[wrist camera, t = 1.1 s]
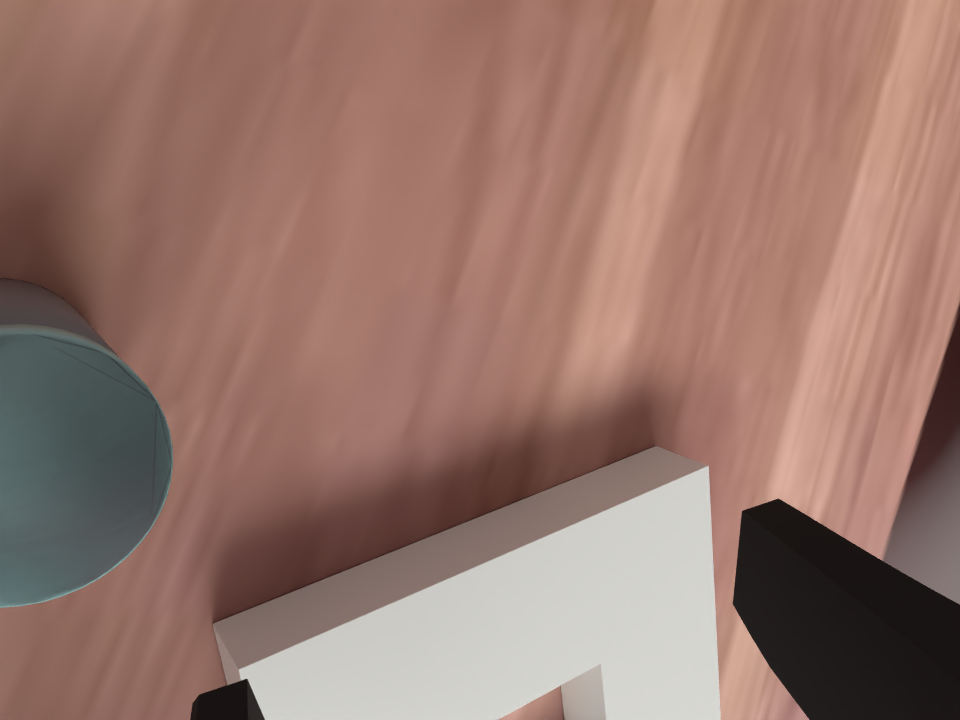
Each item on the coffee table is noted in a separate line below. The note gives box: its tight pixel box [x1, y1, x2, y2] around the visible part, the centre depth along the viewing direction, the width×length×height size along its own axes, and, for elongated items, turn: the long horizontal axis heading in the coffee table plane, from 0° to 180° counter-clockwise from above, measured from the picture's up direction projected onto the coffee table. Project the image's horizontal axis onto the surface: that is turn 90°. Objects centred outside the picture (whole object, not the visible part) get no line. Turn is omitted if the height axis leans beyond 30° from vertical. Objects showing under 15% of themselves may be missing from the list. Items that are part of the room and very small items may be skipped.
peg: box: [0, 278, 173, 608], centre depth 15 cm, size 4×4×8 cm
